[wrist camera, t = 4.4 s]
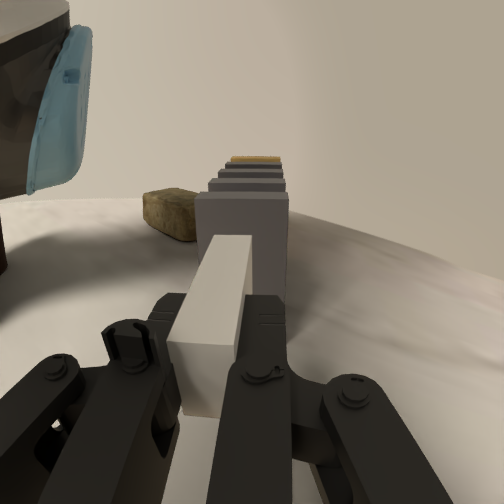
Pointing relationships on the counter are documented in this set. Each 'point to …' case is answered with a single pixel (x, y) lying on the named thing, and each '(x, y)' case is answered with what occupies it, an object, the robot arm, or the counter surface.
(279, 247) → the domino
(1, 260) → the coffee mug
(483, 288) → the counter surface
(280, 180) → the domino
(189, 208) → the stone block
